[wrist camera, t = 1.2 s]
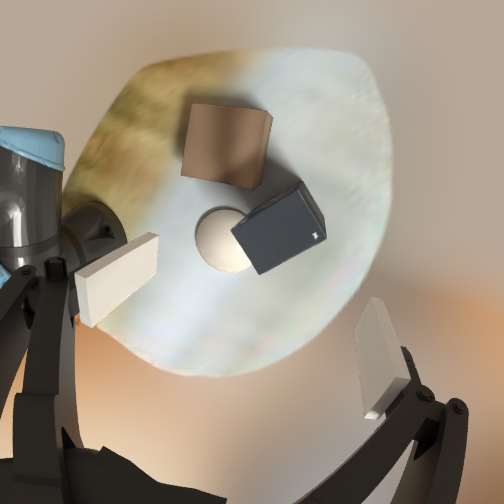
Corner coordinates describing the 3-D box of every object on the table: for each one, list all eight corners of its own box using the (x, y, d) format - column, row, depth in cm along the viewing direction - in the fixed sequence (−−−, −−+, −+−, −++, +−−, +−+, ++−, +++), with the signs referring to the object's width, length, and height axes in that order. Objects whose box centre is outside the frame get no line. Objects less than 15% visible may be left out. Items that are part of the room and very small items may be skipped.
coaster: (194, 261, 40) (192, 262, 40) (203, 202, 37) (201, 203, 37) (251, 278, 39) (250, 280, 39) (266, 218, 36) (265, 219, 36)
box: (301, 179, 33) (298, 187, 24) (324, 217, 34) (329, 240, 25) (250, 209, 36) (227, 230, 26) (273, 245, 37) (259, 278, 27)
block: (196, 172, 36) (180, 175, 32) (207, 109, 33) (192, 103, 28) (260, 184, 35) (252, 188, 30) (273, 117, 32) (267, 111, 27)
